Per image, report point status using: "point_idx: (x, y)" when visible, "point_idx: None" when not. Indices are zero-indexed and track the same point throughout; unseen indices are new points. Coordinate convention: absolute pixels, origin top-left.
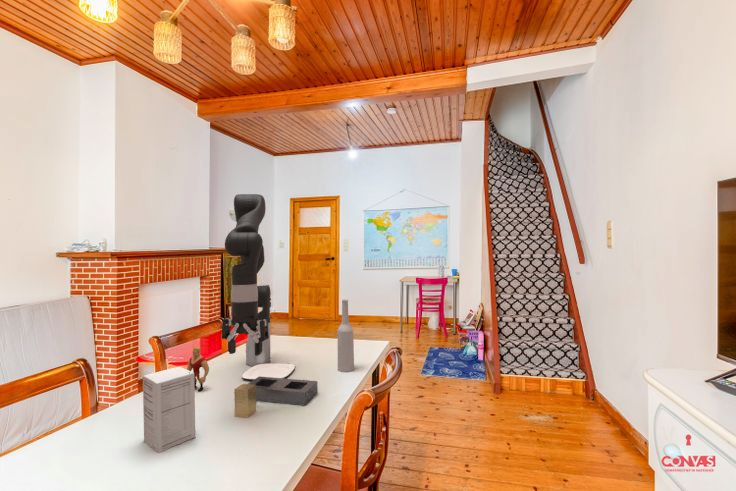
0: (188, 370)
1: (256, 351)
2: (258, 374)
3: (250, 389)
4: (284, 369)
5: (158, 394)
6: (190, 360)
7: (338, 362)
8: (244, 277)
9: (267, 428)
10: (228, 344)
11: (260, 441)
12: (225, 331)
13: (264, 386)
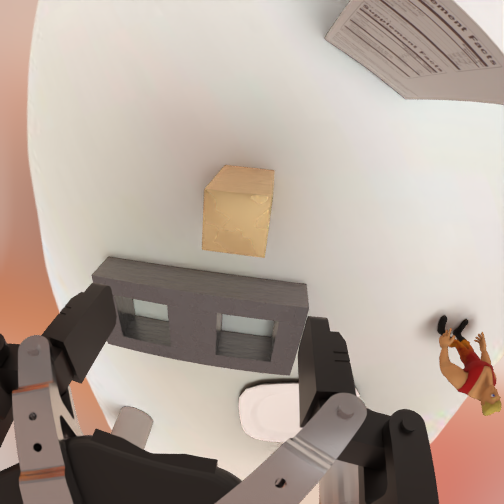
0: (460, 6)
1: (83, 297)
2: None
3: (204, 208)
4: (267, 426)
5: None
6: (494, 377)
7: (141, 427)
8: None
9: (137, 115)
10: (348, 377)
11: (125, 53)
12: (395, 480)
13: (234, 315)
